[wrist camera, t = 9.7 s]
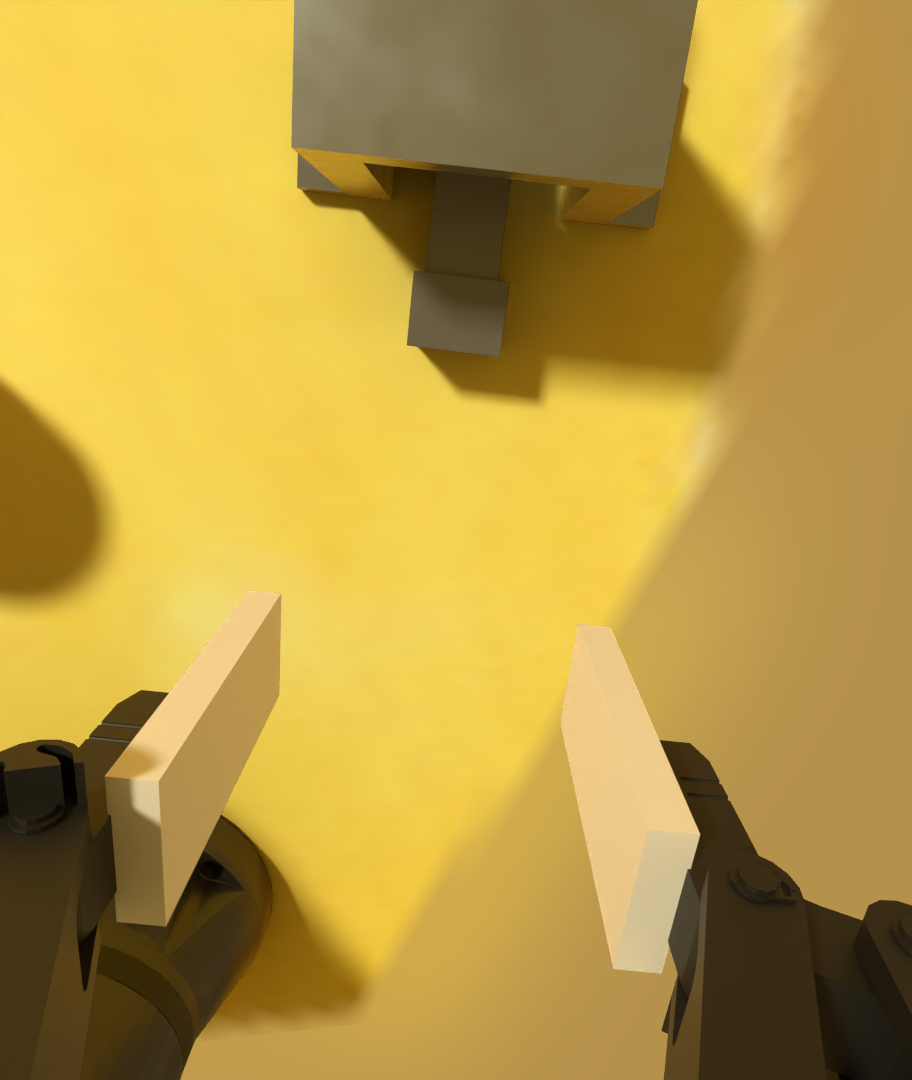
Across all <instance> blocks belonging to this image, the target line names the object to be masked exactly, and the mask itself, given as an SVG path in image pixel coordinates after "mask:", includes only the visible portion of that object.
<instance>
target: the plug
mask: <svg viewBox="0 0 912 1080" xmlns="http://www.w3.org/2000/svg"><path fill="white" fill-rule="evenodd" d="M510 183H511V179H503V178H494V177H485V176H476V175H468V174H459V173H450V172H441V171H436V178H435V188H434V198H433V208H432V218H431V229H430V239H429V249H428V259H427V269H426V272H422V271H414V275H413V285H412V296H411V307H410V318H409V329H408V339H407V345H408V346H416V347H424V348H432V349H440V350H448V351H456V352H464V353H472V354H480V355H488V356H496V357H500V350H501V343H502V336H503V328H504V321H505V314H506V306H507V299H508V292H509V285H510V283H507V282H499V281H498V275H499V267H500V259H501V252H502V244H503V237H504V229H505V221H506V214H507V206H508V199H509V191H510Z"/></svg>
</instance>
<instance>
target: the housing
mask: <svg viewBox="0 0 912 1080" xmlns="http://www.w3.org/2000/svg"><path fill="white" fill-rule="evenodd" d="M697 2H698V0H294V50H293V100H292V148H293V149H294V150H295V151H297V152H298V177H297V188H299V189H300V190H303V191H312V192H320V193H329V194H338V195H347V196H356V197H365V198H374V199H383V200H392V187H393V172H394V166H396V167H405V168H414V169H423V170H432V171H441V172H450V173H459V174H468V175H476V176H485V177H494V178H503V179H512V180H521V181H530V182H539V183H548V184H557V185H564V191H563V198H562V205H561V212H560V219H563V220H572V221H581V222H590V223H599V224H608V225H617V226H625V227H634V228H643V229H650V228H652V227H653V225H654V219H655V214H656V208H657V203H658V197H659V192H660V191H661V190H662V189H663V187H664V182H665V176H666V171H667V166H668V160H669V155H670V149H671V144H672V138H673V133H674V127H675V122H676V116H677V111H678V106H679V100H680V95H681V89H682V84H683V78H684V73H685V67H686V62H687V56H688V51H689V46H690V40H691V35H692V29H693V24H694V18H695V13H696V7H697Z"/></svg>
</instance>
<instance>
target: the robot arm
mask: <svg viewBox="0 0 912 1080" xmlns="http://www.w3.org/2000/svg"><path fill="white" fill-rule="evenodd" d="M280 628H281V593H271V592H261V591H252V590H248V592H247V593H246V594H245V596H244V597H243V598H242V599H241V601H240V602H239V603H238V605H237V606H236V607H235V608H234V610H233V611H232V612H231V614H230V615H229V616H228V617H227V619H226V620H225V621H224V623H223V624H222V625H221V627H220V628H219V629H218V630H217V632H216V633H215V634H214V636H213V637H212V638H211V639H210V641H209V642H208V643H207V645H206V646H205V647H204V649H203V650H202V651H201V652H200V654H199V655H198V656H197V658H196V659H195V660H194V661H193V663H192V664H191V665H190V667H189V668H188V669H187V670H186V672H185V673H184V674H183V676H182V677H181V678H180V680H179V681H178V682H177V683H176V685H175V686H174V687H173V689H172V690H171V691H170V692H169V693H164V692H154V691H144V690H141V691H139V692H137V693H136V694H134V695H132V696H130V697H129V698H127V699H125V700H123V701H122V702H120V703H118V704H117V705H116V706H115V707H114V708H113V709H112V711H111V712H110V713H109V714H108V715H107V716H106V717H105V719H104V720H103V721H102V724H101V725H98V726H97V728H96V729H95V730H94V731H93V732H92V733H91V734H90V736H89V739H86V740H85V741H84V742H83V744H82V745H81V746H80V747H79V748H78V747H77V746H76V745H75V744H73V743H69V742H65V741H62V740H37V741H32V742H27V743H22V744H18V745H16V746H13V747H11V748H8V749H6V750H3V751H1V752H0V1080H180V1079H181V1075H182V1073H183V1070H184V1067H185V1065H186V1062H187V1059H188V1056H189V1054H190V1052H191V1049H192V1047H193V1044H194V1042H195V1040H196V1038H197V1037H198V1036H199V1034H200V1033H201V1032H202V1030H203V1029H204V1028H205V1026H206V1025H207V1023H208V1022H209V1021H210V1019H211V1018H212V1017H213V1015H214V1014H215V1013H216V1011H217V1010H218V1009H219V1007H220V1006H221V1005H222V1003H223V1002H224V1001H225V999H226V998H227V997H228V995H229V994H230V993H231V991H232V990H233V989H234V987H235V986H236V985H237V983H238V982H239V980H240V979H241V978H242V976H243V975H244V974H245V972H246V971H247V970H248V968H249V967H250V965H251V964H252V962H253V960H254V958H255V956H256V954H257V952H258V950H259V948H260V945H261V942H262V939H263V936H264V933H265V930H266V927H267V924H268V921H269V918H270V914H271V909H272V889H271V883H270V879H269V876H268V873H267V870H266V868H265V865H264V864H263V862H262V860H261V858H260V856H259V855H258V853H257V852H256V850H255V849H254V848H253V846H252V845H251V844H250V843H249V841H248V840H247V839H246V838H245V837H244V836H243V835H242V834H241V833H240V832H239V831H238V830H237V829H236V828H234V827H233V826H232V825H231V824H229V823H228V822H227V821H225V820H224V819H222V818H221V817H220V815H221V813H222V811H223V809H224V807H225V805H226V803H227V801H228V799H229V796H230V794H231V792H232V790H233V788H234V786H235V784H236V782H237V780H238V778H239V776H240V774H241V772H242V770H243V768H244V766H245V764H246V762H247V760H248V758H249V756H250V754H251V751H252V749H253V747H254V745H255V743H256V741H257V739H258V737H259V735H260V733H261V731H262V729H263V727H264V725H265V723H266V721H267V719H268V717H269V715H270V713H271V711H272V708H273V706H274V704H275V702H276V700H277V698H278V696H279V680H280ZM561 727H562V732H563V737H564V741H565V746H566V751H567V755H568V760H569V765H570V769H571V774H572V778H573V783H574V788H575V793H576V797H577V802H578V806H579V811H580V816H581V820H582V825H583V829H584V834H585V839H586V844H587V848H588V853H589V858H590V862H591V867H592V872H593V876H594V881H595V885H596V890H597V895H598V899H599V904H600V909H601V913H602V918H603V923H604V927H605V932H606V937H607V941H608V946H609V950H610V955H611V960H612V964H613V968H614V969H620V970H631V971H641V972H651V973H662V970H663V967H664V963H665V959H666V955H667V952H668V948H669V947H670V950H671V953H672V956H673V959H674V963H675V966H676V969H677V972H678V976H677V979H676V982H675V986H674V989H673V993H672V996H671V1000H670V1003H669V1007H668V1010H667V1014H666V1017H665V1020H664V1024H663V1027H662V1031H663V1032H665V1033H668V1040H667V1051H666V1063H665V1072H664V1080H912V906H911V905H908V904H905V903H902V902H899V901H887V900H886V901H885V900H879V901H877V902H875V903H873V904H871V905H869V906H868V909H867V911H866V914H865V916H864V919H863V921H862V920H859V919H856V918H853V917H850V916H848V915H844V914H842V913H839V912H836V911H833V910H830V909H827V908H824V907H821V906H819V905H817V904H814V903H812V902H809V901H807V900H805V899H803V896H802V893H801V891H800V888H799V887H798V886H797V884H796V883H795V882H794V881H793V879H792V878H791V877H790V876H789V875H788V874H787V873H786V872H785V871H783V870H782V869H781V868H779V867H778V866H777V865H775V864H774V863H773V862H771V861H768V860H767V859H764V858H762V857H760V856H759V855H758V854H757V852H756V850H755V848H754V846H753V844H752V842H751V840H750V838H749V836H748V834H747V832H746V831H745V829H744V827H743V825H742V823H741V821H740V819H739V817H738V815H737V813H736V812H735V810H734V808H733V806H732V804H731V802H730V801H728V796H727V794H726V792H725V790H724V788H723V787H722V785H721V784H719V779H718V777H717V775H716V773H715V771H714V769H713V767H712V766H711V764H710V762H709V761H708V760H707V759H706V758H705V757H704V756H703V755H702V754H701V753H700V752H699V751H698V750H696V748H694V747H693V746H692V745H691V744H690V743H683V742H673V741H672V742H671V741H662V740H659V738H658V736H657V734H656V731H655V729H654V727H653V724H652V722H651V720H650V717H649V715H648V713H647V710H646V708H645V706H644V704H643V701H642V699H641V697H640V694H639V692H638V690H637V688H636V685H635V683H634V680H633V678H632V676H631V674H630V672H629V669H628V667H627V665H626V662H625V660H624V657H623V655H622V653H621V651H620V648H619V646H618V644H617V641H616V639H615V637H614V634H613V632H612V630H611V627H603V626H593V625H584V624H578V629H577V634H576V640H575V645H574V651H573V657H572V662H571V668H570V673H569V679H568V684H567V690H566V695H565V701H564V706H563V712H562V717H561Z"/></svg>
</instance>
